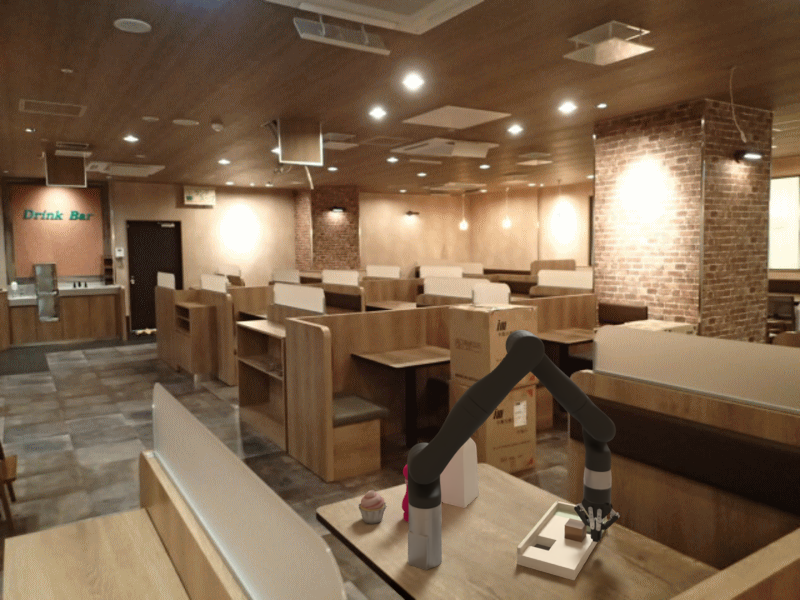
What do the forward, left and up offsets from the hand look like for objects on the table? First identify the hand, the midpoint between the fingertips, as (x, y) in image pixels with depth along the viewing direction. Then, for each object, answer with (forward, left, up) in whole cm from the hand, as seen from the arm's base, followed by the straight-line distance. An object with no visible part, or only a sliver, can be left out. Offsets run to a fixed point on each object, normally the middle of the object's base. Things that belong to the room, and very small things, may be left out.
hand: (596, 540), depth 178 cm
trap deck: (0, +9, -4) cm, 10 cm away
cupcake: (-15, +67, -4) cm, 69 cm away
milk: (+13, +51, -4) cm, 53 cm away
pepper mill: (-8, +56, -4) cm, 57 cm away
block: (+1, +6, -1) cm, 6 cm away
